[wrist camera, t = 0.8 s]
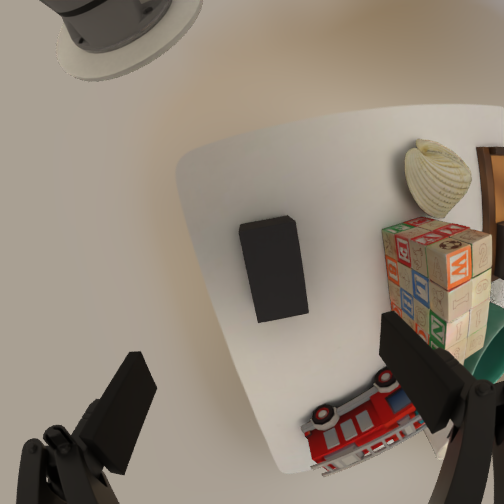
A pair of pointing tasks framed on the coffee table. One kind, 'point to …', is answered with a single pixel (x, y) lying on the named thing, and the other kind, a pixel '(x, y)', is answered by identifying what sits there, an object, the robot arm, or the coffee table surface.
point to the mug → (489, 349)
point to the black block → (274, 268)
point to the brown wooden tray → (493, 203)
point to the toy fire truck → (362, 425)
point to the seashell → (436, 177)
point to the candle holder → (439, 440)
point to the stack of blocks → (440, 282)
